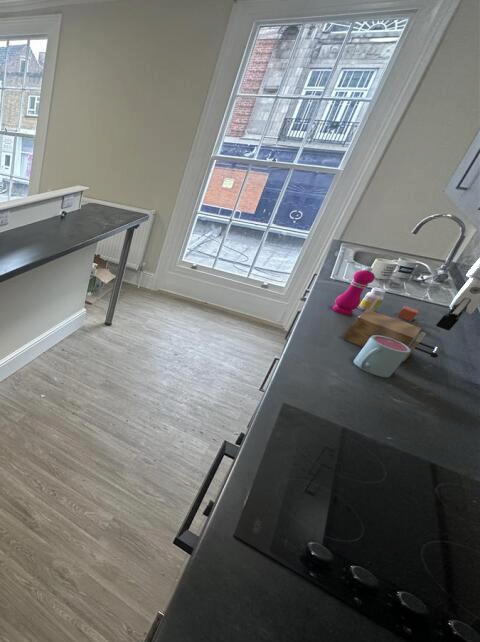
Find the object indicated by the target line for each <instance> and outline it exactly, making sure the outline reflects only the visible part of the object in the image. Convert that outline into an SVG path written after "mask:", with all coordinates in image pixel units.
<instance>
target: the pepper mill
mask: <svg viewBox="0 0 480 642" xmlns="http://www.w3.org/2000/svg"><path fill="white" fill-rule="evenodd" d="M372 271H373V268H372V267H370V266H369V267H366V268H365V269H362V270H361V269H360V270H357V271H356V272H354V274H353V276H352V278H353V279H352V280H351V281H350V286H349V287H348V288H347V290H345V291H344V292H343V293H342V294H340V295H339V296H337V297H336V298H335V300H334V302H335V304H334V305H333V306H332V308H331V309H332V310H333V311H334V312H336V313H338V314H341V315H346V316H351V315H352V314H353V311H354V310H356V309H357V308H358V306H359V305H360V303H361V295H362V293H363V291H364V290H365V289H367V287H368V286H369V284H371V283H373V282H374V281H375V277H376V275H375V274H374V272H372ZM358 309H359V308H358Z"/></svg>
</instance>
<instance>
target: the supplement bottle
mask: <svg viewBox="0 0 480 642" xmlns="http://www.w3.org/2000/svg"><path fill="white" fill-rule="evenodd" d="M386 293H387V291H386V290H384V289H382V288H379V287H372V289H371V290H370V291H369V292H367V293H366V294H365V296H364V297H363V299H362V300H361V301H360V304H359V306H358V309H359V310H360V311H363V312H365V311H366V310H367V309H369V310H371V311H374V312H376V311H377V309H378V308H379V306H380V305H381V303H382V302H383V301H384V295H385V294H386Z"/></svg>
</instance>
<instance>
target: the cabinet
mask: <svg viewBox="0 0 480 642" xmlns="http://www.w3.org/2000/svg"><path fill="white" fill-rule="evenodd" d="M421 330H422V327H420V326H418V325H414V324H412V323H408V322H405V321H402V320H401V319H400V320H399V319H397V318H394V317H392V316H388V315H386V314H383V313H381V312H380V313H379V312H376V311H375V312H374V311H371V310H369V309H367V310H366V311H363V312H362V313H361V314H360V315H359V316H357V318H356V319H355V321H354V322H353V324H352V326H351V327H350V328H349V329H348V331H347V333H345V336H344V337H343V340H344V341H347V342H350V343H352V344H355V345H357V346H359V347H361V348H363V347H364V346H365V345H366V343H367V342H368V340H369V339H370V338H371V336H373V335H380V336H385V337H388V338H391V339H394V340H397V341H399V342H401V343H403V344H405V345H406V346H408V347H409V346H410V345H411V344H412V342H413V341H414V340H415V339H416V337H417V336H418V335H419V333H420V332H421Z"/></svg>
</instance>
